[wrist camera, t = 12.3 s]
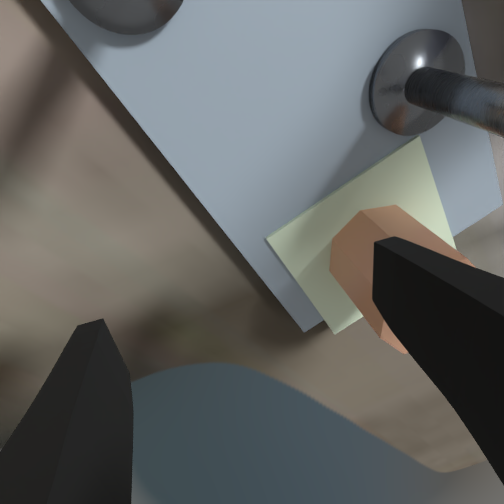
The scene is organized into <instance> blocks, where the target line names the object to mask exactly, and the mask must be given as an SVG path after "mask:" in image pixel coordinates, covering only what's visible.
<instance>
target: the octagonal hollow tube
mask: <svg viewBox="0 0 504 504" xmlns="http://www.w3.org/2000/svg"><path fill="white" fill-rule="evenodd" d="M393 236H396V237H399V238H402V239H405V240H407V241H410V242H413V243H415V244H418V245H420V246H423V247H425V248H428V249H430V250H433V251H435V252H437V253H440V254H442V255H445V256H447V257H450V258H452V259H455V260H457V261H460V262H462V263H465V264H467V265H470V266H473V267H475V266H474V265H473V264H472V263H471V262H470V261H469V260H468V259H467V258H466V257H465V256H463V255H462V254H461V253H459V252H458V251H457V250H456V249H454V248H453V247H452V246H450V245H449V244H448V243H446V242H445V241H444V240H442V239H441V238H440V237H438V236H437V235H436V234H434V233H433V232H432V231H430V230H429V229H428V228H426V227H425V226H424V225H422V224H421V223H420V222H418V221H417V220H416V219H414V218H413V217H412V216H410V215H409V214H408V213H406V212H405V211H404V210H402V209H401V208H400V207H398V206H397V205H390V206H384V207H378V208H371V209H365V210H360V211H359V212H358V213H357V214H356V215H355V216H354V217H353V218H352V219H351V220H350V221H349V222H348V223H347V224H346V225H345V226H344V227H343V228H342V229H341V230H340V231H339V232H338V233H337V234H336V235H335V236H334V237H333V238H332V246H331V257H330V268H329V271H330V272H331V274H332V275H333V276H334V278H335V279H336V280H337V282H338V283H339V284H340V286H341V287H342V288H343V290H344V291H345V292H346V294H347V295H348V296H349V298H350V299H351V300H352V301H353V303H354V304H355V305H356V307H357V308H358V309H359V311H360V312H361V313H362V315H363V316H364V317H365V319H366V320H367V321H368V323H369V324H370V325H371V327H372V328H373V329H374V331H375V332H376V333H377V335H378V336H379V337H380V338H381V339H382V340H384V341H385V342H387V343H388V344H390V345H391V346H393V347H394V348H396V349H397V350H399V351H400V352H402V353H403V354H406V353H409V352H408V351H407V350H406V349H405V347H404V346H403V345H402V344H401V342H400V341H399V340H398V339H397V337H396V336H395V335H394V334H393V332H392V331H391V330H390V328H389V327H388V325H387V324H386V322H385V320H384V319H383V317H382V316H381V314H380V312H379V311H378V309H377V307H376V306H375V304H374V302H373V300H372V285H373V254H374V242H375V241H379V240H382V239H386V238H389V237H393Z"/></svg>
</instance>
